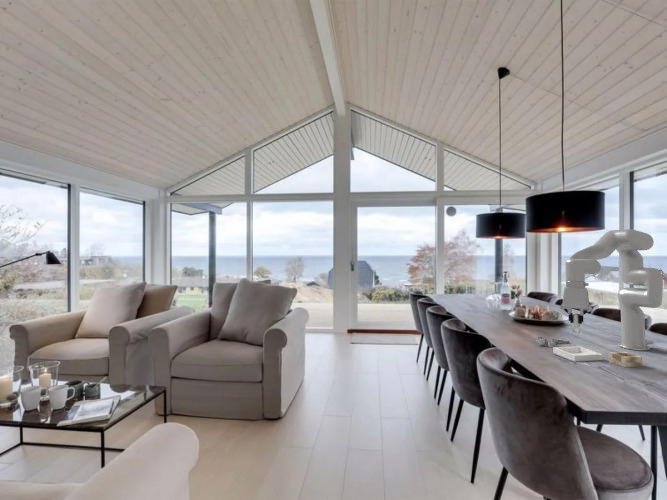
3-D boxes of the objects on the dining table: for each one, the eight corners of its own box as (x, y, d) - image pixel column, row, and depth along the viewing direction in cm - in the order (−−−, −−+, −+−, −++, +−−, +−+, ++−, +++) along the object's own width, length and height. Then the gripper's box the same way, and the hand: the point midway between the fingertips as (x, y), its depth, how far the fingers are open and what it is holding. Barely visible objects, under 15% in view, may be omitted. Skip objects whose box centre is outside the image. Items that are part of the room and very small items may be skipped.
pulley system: (532, 350, 183) (565, 353, 174) (531, 341, 183) (564, 343, 174) (539, 341, 204) (570, 343, 195) (539, 333, 205) (569, 335, 195)
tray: (579, 353, 172) (579, 346, 172) (603, 362, 158) (603, 354, 158) (553, 354, 171) (553, 347, 171) (574, 363, 157) (574, 355, 157)
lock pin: (576, 331, 167) (576, 313, 167) (581, 333, 164) (581, 314, 164) (571, 331, 166) (570, 313, 166) (575, 333, 163) (575, 314, 163)
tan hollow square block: (625, 362, 157) (625, 351, 157) (642, 368, 149) (642, 356, 149) (609, 363, 156) (608, 352, 156) (625, 369, 148) (624, 357, 149)
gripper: (597, 285, 163) (598, 323, 162) (556, 283, 174) (557, 319, 173) (595, 286, 157) (596, 326, 157) (554, 284, 168) (554, 322, 168)
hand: (576, 322), depth 165 cm, fingers closed on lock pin, 3 cm apart
